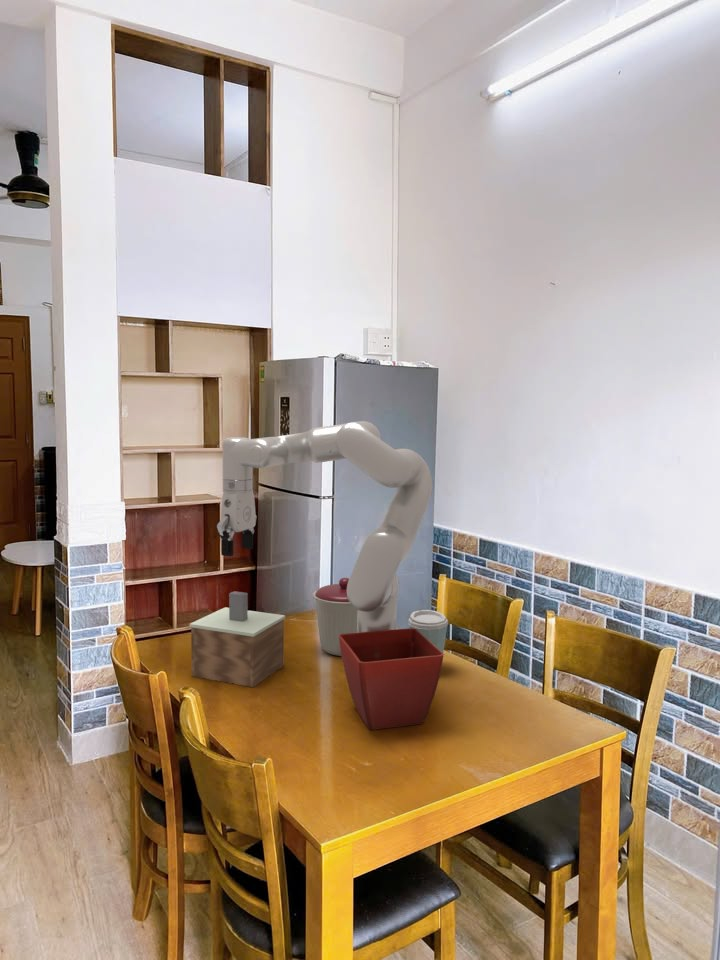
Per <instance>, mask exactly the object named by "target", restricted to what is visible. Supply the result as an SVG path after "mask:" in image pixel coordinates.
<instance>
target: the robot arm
mask: <svg viewBox="0 0 720 960" xmlns="http://www.w3.org/2000/svg"><path fill="white" fill-rule="evenodd" d="M341 460H347V461H348V462H350V464H352V465H354V466H355V467H356V468H357V469H359V470H360V471H361V472H363V473H365V475H367V476H369V477H370V478H372V479H373V480H374V481H376V482H377V483H378V484H380V485H382V486H383V487H386V488H390V489H392V488H393V489H395V488H396V490H395V493H394V495H393V497H392V499H391V501H390V503H389V505H388V507H387V512H386V514H385V516H384V518H383V521H382V523H381V524H380V526H379V527H378V528H377V529H375V530H374V531H372V532H371V533H370V534H369V535H368V536H367V538H366V539H365V541H364V542H363V545H362V547H361V549H360V552H359V554H358V556H357V559H356V561H355V563H354V567H353V568H352V571H351V574H350V576H349V577H348V578H349V581H348V584H347V597H348V600H349V602H350V603H351V605H352V606H353V607H354V608H356V609H357V610H358V611H357V633H359V632H372V631H384V630H396V629H397V628H396V627H397V607H398V605H397V604H398V597H399V587H400V586H399V585H400V584H399V578H398V574H397V572H398V569H399V567H400V565H401V563H403V561H404V560H406V559H407V557H408V556H409V555H410V553H411V551H412V547H413V544H414V542H415V540H416V536H417V534H418V532H419V530H420V527H421V524H422V521H423V519H424V516H425V513H426V511H427V508H428V505H429V503H430V500H431V495H432V493H433V480H432V474H431V471H430V468H429V466H428V464H427V462H426V461H425V460H424V458H422V456H421V455H419V454H418V453H417V452H416V451H414V450H412V449H409V448H397V449H396V448H395V449H394V447H392V446H391V445H389V444H388V443H386V442H385V441H383V440H382V439H381V434H380V431H379V429H378V428H377V426H376V425H375V424H373V423H372V422H369V421H364V420H360V421H350V422H346V423H340V424H334V425H329V426H328V425H327V426H326V425H325V426H319V427H313V428H310V429H309V430H307V431H304V432H300V433H299V432H298V433H293V434H285V435H277V436H268V437H267V436H266V437H259V438H249V437H238V436H237V437H233V436H232V437H227V438H224V440H223V442H222V492H223V493H222V499H221V506H220V507H221V509H220V521H219V522H218V523H216V524H217V525H216V528H217V532H218V535H219V539H220V541H221V543H220V544H221V545H220V546H221V547H220V549H221V550H220V551H221V553H220V554H221V556H224V557H233V556H234V540H233V536H234V534H235V533H241V532H242V533H241V548H242V549H243V550H244V549H245V550H252V549H254V533H255V527H256V523H257V515H256V502H255V495H254V490H253V483H254V481H253V478H254V477H253V474H254V473H253V470H254V469H267V468H271V467H277V466H283V465H290V464H296V463H305V462H314V463H325V462H326V463H327V462H332V461H333V462H334V461H341Z"/></svg>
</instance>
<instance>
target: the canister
mask: <svg viewBox="0 0 720 960" xmlns="http://www.w3.org/2000/svg"><path fill="white" fill-rule="evenodd" d="M349 578H350V577H341V578H340V579H339V581H338V583H334V584H328V585H325V586H321V587H320V588H319V589H317V590H315V591H314V592H313V593H312V597H313V598H314V599H315V607H316V617H317V619H316V620H317V627H318V629H317V630H318V636H319V643H320V646H321V648H322V650H323V651H324V652H326V653H328V654H329V655H333V656H339V657H342V655H341V649H340V642H339V635H340V634H347V633H357V611H358V610H357V609H356V608H354V607H353V606H352V605H351V603H350V602H349V600H348V597H347V584H348V581H349Z"/></svg>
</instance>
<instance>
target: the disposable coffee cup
mask: <svg viewBox="0 0 720 960" xmlns="http://www.w3.org/2000/svg"><path fill="white" fill-rule="evenodd" d="M407 624H408V626H409V627H408V628H413V629H417V630H418V631H419V632H420V633H421V634H422V635H423V636H424V637H425V638H426V639H428V640H429V641H430V642H431V643H432V644H433V645H434V646H435V647H436V648H438V649H439V650H440V651H441V652H442V653H443V654H444V652H445V651H444V649H445V645H446V644H445V643H446V637H447V630H448V625H449V620H448V618H447V617H446V616H445V614H444V613H442V612H439V611H437V610H431V609H421V610H420V609H419V610H415V611H412V612H411V614H410V616H409V618H408V620H407Z"/></svg>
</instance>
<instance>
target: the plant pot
mask: <svg viewBox="0 0 720 960" xmlns="http://www.w3.org/2000/svg"><path fill="white" fill-rule="evenodd" d="M339 642H340V649H341V655H342V656H341V660H342V664H343V669H344V674H345V678H346V681H347V686H348V690H349V693H350V696H351V699H352V702H353V705H354V708H355V709H356V711H357V713H358V714H359V716H360V717H361V719H362V721H363V722H364V724H365V725H366V727H367V728H368V729H370V730H381V729H388V728H397V727H404V726H414V725H421V724H424V723H425V720H426V718H427V716H428V713H429V710H430V708H431V707H432V706H431V705H432V703H433V700H434V698H435V694H436V691H437V687H438V683H439V681H440V676H441V672H442V666H443V660H444V655H445V654H444V652H443V653H442V652H441V651H440V650H439V649H438V648H436V647H435V646H434V645H433V644H432V643H431V642H430V641H429V640H428V639H426V638H425V637H424V636H423V635H422V634H421V633H420V632H419V631H418V630H417V629H413V628H410V627H408V628H400V629H399V628H398V629H397V628H396V629H395V630H384V631H372V632H359V633H347V634H340V635H339Z"/></svg>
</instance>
